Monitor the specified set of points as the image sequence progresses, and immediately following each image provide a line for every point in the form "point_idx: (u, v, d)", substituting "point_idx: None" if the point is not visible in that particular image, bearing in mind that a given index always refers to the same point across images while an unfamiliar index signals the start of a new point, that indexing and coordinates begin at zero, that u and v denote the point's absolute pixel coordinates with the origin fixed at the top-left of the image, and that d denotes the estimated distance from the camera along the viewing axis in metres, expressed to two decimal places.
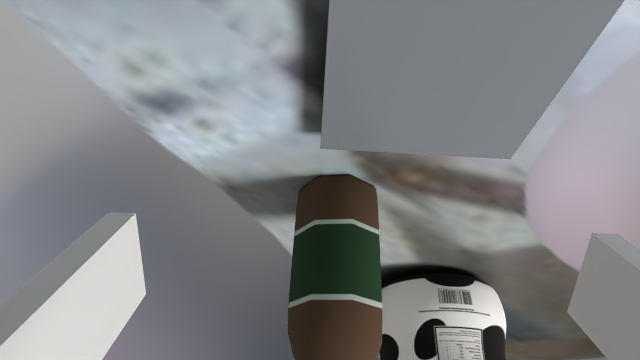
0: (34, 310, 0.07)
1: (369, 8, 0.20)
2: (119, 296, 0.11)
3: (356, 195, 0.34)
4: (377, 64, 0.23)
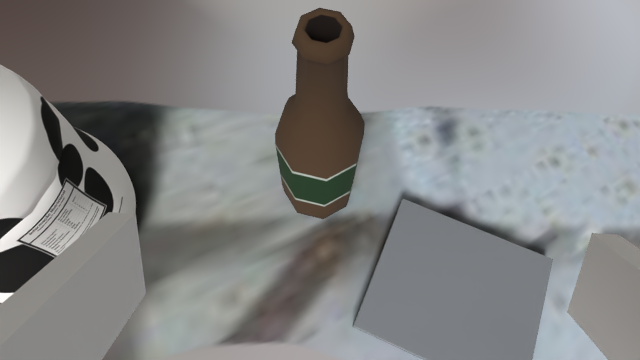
0: (34, 310, 0.07)
1: (503, 258, 0.41)
2: (119, 296, 0.11)
3: (344, 203, 0.42)
4: (468, 253, 0.41)
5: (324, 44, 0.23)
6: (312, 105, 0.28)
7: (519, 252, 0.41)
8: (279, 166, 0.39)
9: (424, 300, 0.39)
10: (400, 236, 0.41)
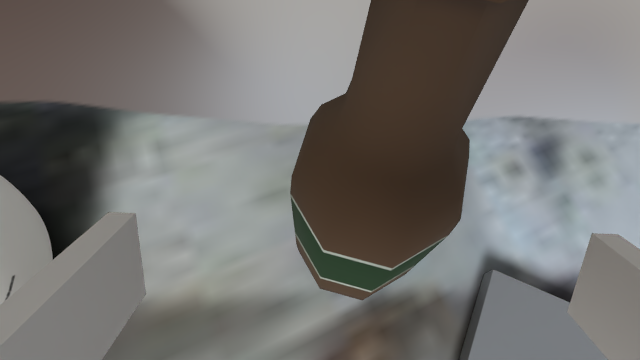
0: (34, 310, 0.07)
1: None
2: (119, 296, 0.11)
3: None
4: None
5: None
6: (394, 130, 0.11)
7: None
8: (294, 223, 0.22)
9: None
10: (494, 338, 0.25)
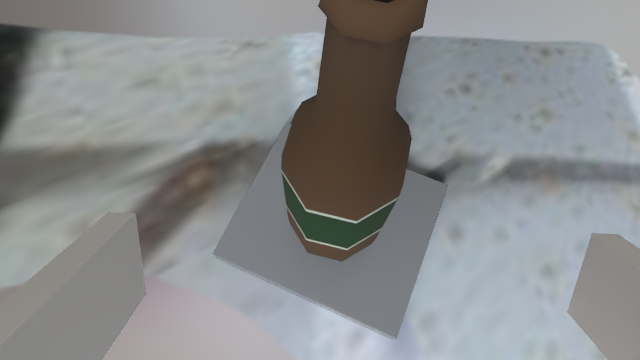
0: (34, 310, 0.07)
1: None
2: (119, 296, 0.11)
3: (371, 241, 0.32)
4: None
5: (382, 6, 0.12)
6: (345, 116, 0.17)
7: (411, 177, 0.36)
8: (285, 196, 0.28)
9: None
10: (278, 160, 0.37)
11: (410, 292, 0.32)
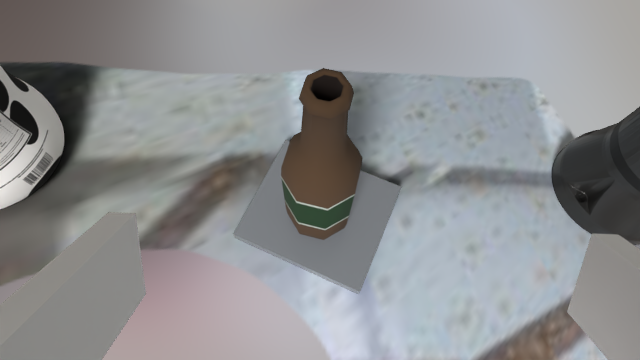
0: (34, 310, 0.07)
1: (361, 186, 0.50)
2: (119, 296, 0.11)
3: (343, 225, 0.46)
4: None
5: (327, 103, 0.26)
6: (316, 148, 0.31)
7: (375, 181, 0.50)
8: None
9: None
10: (279, 168, 0.51)
11: (370, 261, 0.46)
